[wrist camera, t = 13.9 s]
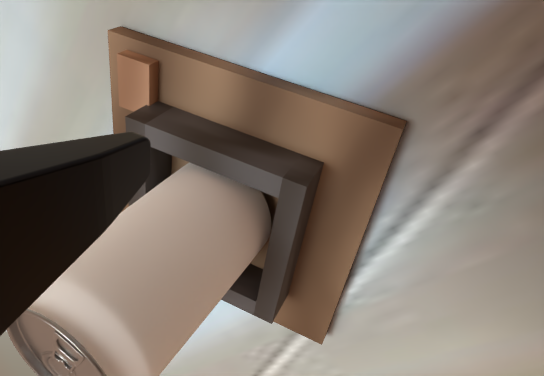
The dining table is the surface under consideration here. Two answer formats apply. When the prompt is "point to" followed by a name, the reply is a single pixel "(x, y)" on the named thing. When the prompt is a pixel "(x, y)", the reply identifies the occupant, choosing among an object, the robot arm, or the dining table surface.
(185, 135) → the socket block
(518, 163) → the dining table surface
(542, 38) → the dining table surface
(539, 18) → the dining table surface
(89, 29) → the dining table surface
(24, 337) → the can
